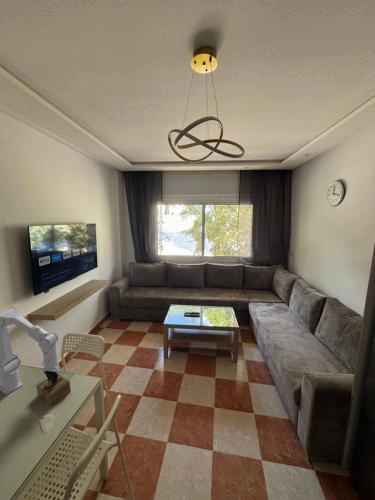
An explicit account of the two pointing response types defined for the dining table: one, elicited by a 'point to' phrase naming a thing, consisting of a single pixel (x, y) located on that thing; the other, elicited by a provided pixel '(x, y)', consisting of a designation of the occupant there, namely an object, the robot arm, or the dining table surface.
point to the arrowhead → (47, 422)
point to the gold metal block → (49, 383)
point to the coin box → (53, 390)
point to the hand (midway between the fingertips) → (53, 381)
